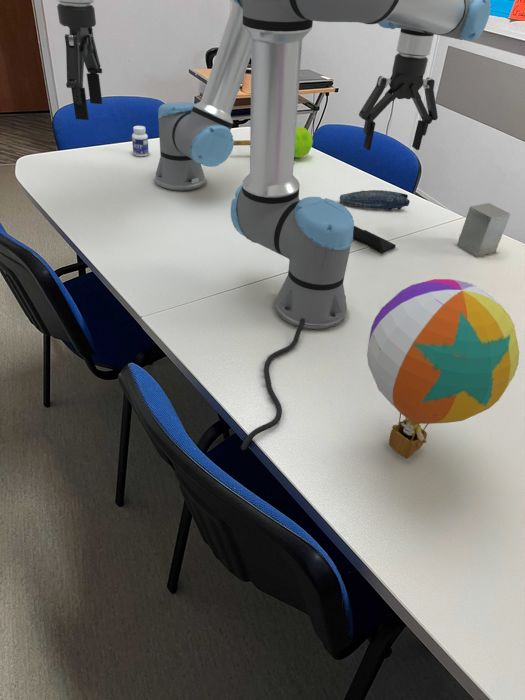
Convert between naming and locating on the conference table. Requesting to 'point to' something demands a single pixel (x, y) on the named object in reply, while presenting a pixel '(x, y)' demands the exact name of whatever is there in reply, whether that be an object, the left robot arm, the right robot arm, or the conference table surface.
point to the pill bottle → (140, 141)
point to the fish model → (376, 199)
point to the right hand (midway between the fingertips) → (391, 148)
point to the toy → (440, 356)
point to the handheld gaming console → (372, 240)
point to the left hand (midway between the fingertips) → (89, 111)
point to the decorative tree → (301, 142)
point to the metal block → (483, 229)
